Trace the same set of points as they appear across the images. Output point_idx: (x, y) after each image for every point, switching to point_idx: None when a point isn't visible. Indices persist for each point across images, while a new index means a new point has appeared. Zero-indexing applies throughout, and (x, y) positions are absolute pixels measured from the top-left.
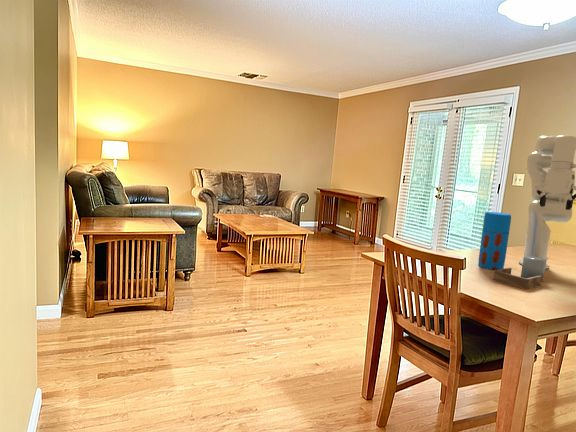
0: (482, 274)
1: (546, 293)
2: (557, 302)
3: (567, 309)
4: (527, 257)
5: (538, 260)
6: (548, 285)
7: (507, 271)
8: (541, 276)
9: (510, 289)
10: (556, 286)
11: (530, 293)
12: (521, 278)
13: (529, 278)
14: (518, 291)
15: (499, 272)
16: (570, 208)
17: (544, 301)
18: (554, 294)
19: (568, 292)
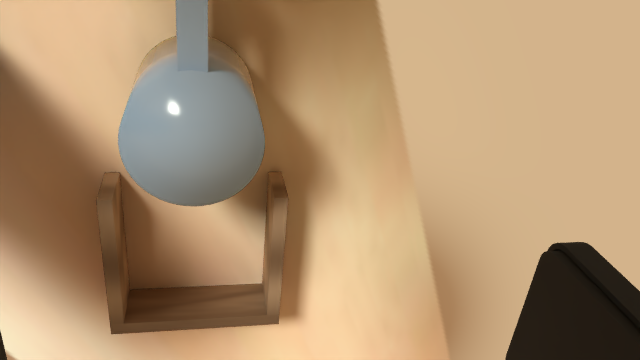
0: (20, 260)
1: (341, 261)
2: (400, 323)
3: (438, 355)
4: (152, 164)
5: (238, 179)
6: (300, 126)
7: (118, 230)
8: (287, 203)
9: (238, 342)
10: (331, 103)
11: (304, 318)
12: (251, 324)
13: (275, 301)
14: (267, 336)
15: (141, 329)
16: (592, 263)
17: (369, 351)
18: (366, 244)
19: (397, 156)
